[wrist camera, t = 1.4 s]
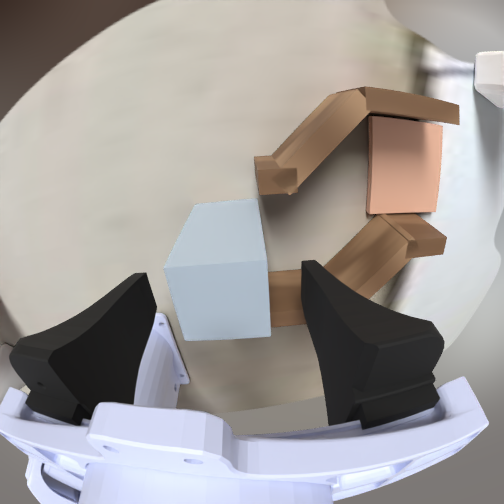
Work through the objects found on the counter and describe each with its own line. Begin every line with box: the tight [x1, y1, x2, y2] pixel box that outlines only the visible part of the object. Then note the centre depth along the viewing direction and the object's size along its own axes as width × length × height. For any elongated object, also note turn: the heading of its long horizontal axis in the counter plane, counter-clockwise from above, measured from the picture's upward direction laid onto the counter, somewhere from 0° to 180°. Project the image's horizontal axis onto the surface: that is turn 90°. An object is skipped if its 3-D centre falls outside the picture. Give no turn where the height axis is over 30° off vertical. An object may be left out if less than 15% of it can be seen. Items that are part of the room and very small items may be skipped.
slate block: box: [164, 198, 271, 341], centre depth 15 cm, size 4×4×8 cm
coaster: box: [366, 116, 443, 214], centre depth 16 cm, size 7×6×1 cm
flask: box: [0, 343, 26, 405], centre depth 22 cm, size 7×7×10 cm
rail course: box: [254, 87, 459, 327], centre depth 15 cm, size 13×12×4 cm
